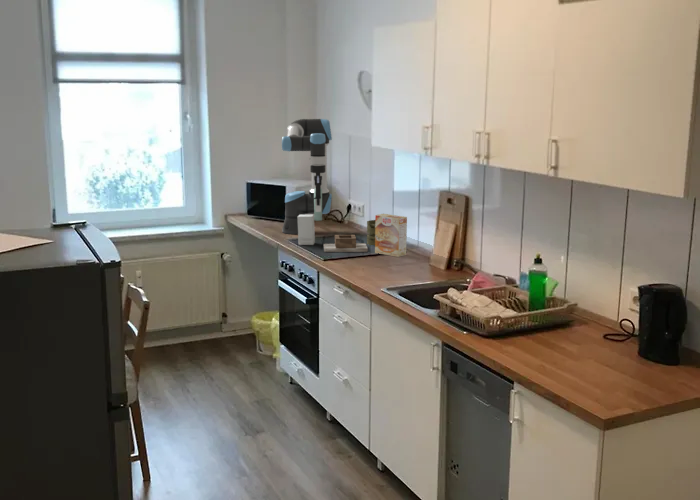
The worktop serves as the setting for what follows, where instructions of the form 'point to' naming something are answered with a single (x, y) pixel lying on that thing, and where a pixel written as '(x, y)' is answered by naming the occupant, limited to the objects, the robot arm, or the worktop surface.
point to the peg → (316, 214)
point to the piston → (371, 232)
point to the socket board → (358, 248)
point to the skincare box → (306, 230)
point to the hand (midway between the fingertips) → (318, 210)
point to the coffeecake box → (390, 234)
